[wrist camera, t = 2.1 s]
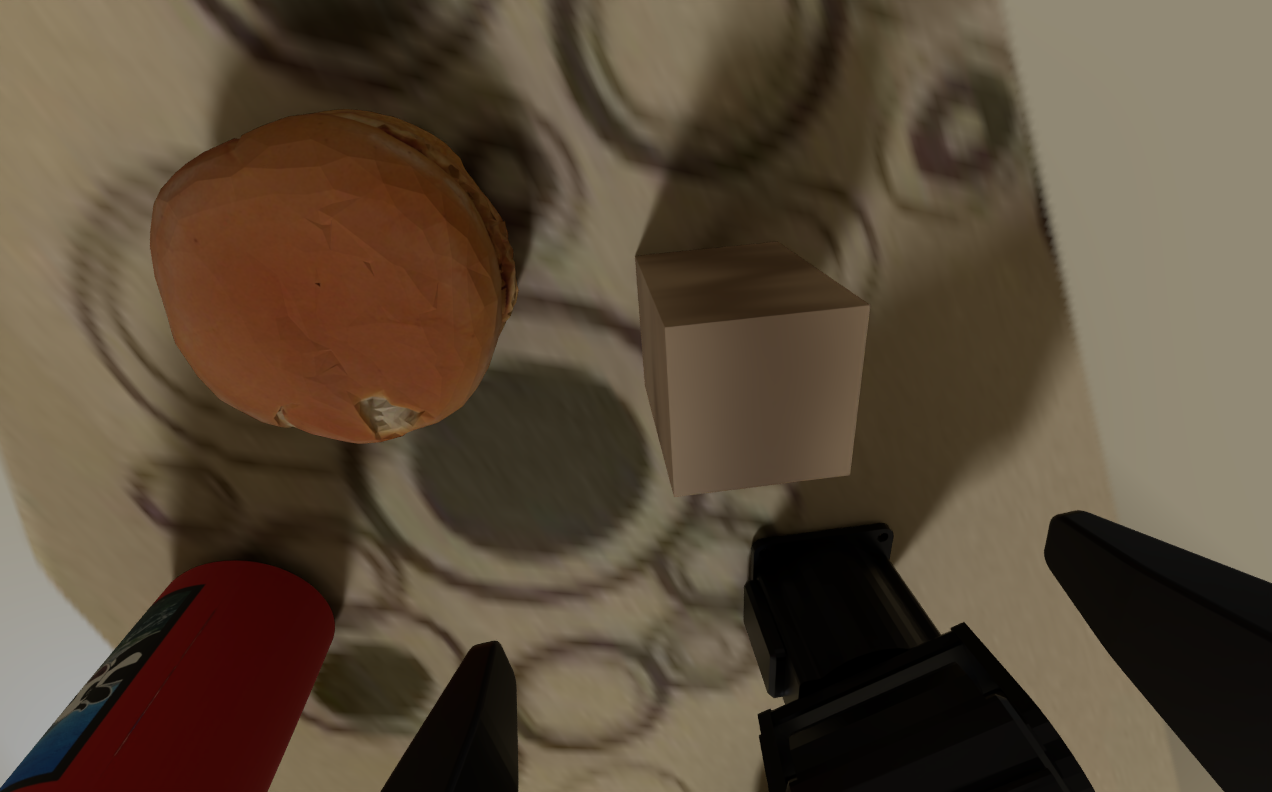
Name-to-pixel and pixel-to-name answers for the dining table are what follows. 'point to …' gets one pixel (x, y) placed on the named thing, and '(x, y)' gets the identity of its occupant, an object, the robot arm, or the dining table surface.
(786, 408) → the walnut block
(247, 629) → the beverage can
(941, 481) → the dining table surface
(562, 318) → the dining table surface
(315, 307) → the burger
